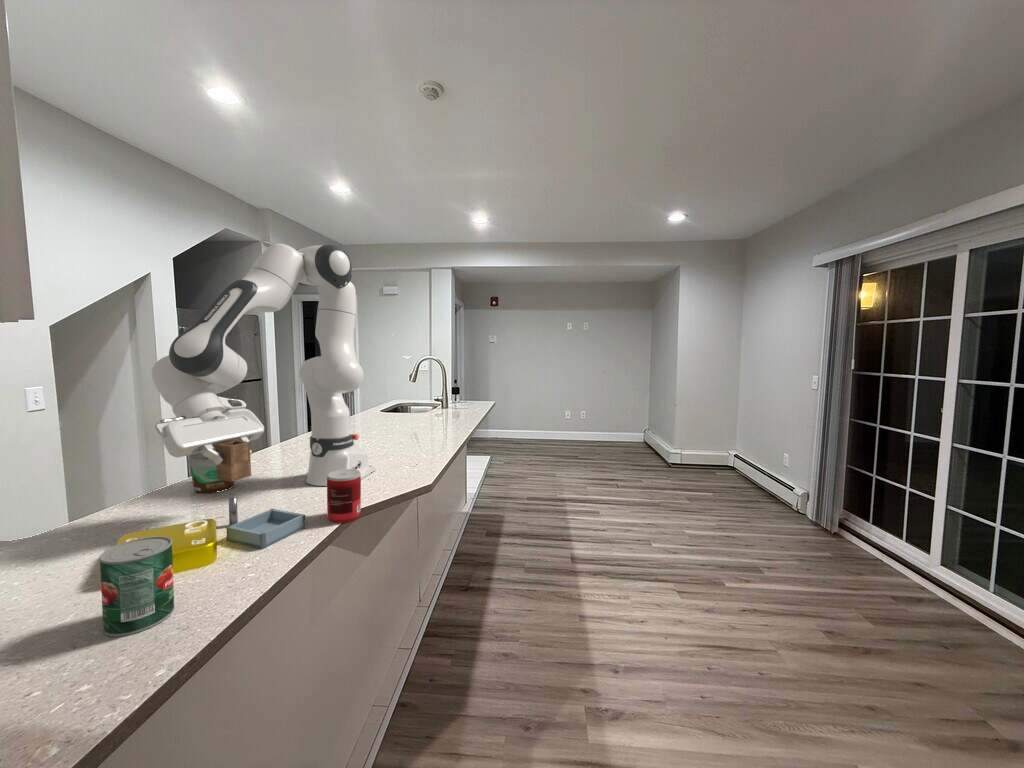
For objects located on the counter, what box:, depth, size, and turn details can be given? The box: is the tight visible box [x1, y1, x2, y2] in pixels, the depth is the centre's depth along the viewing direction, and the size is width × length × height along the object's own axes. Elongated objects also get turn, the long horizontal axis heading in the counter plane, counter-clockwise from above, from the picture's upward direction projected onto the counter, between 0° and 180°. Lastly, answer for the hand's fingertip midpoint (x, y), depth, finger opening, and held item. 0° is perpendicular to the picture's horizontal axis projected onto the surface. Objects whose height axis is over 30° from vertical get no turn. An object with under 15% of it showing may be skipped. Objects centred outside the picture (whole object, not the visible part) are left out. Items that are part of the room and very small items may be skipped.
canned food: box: [326, 469, 362, 524], centre depth 98 cm, size 8×8×11 cm
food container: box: [186, 457, 235, 494], centre depth 113 cm, size 12×6×10 cm, turn 143°
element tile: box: [115, 518, 218, 575], centre depth 77 cm, size 15×15×5 cm
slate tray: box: [226, 508, 307, 550], centre depth 88 cm, size 11×10×3 cm
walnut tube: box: [215, 440, 252, 482], centre depth 91 cm, size 5×5×8 cm
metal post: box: [228, 496, 239, 526], centre depth 91 cm, size 2×2×6 cm
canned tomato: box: [99, 536, 175, 637], centre depth 59 cm, size 8×8×11 cm
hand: (235, 458), depth 91 cm, fingers closed on walnut tube, 5 cm apart
